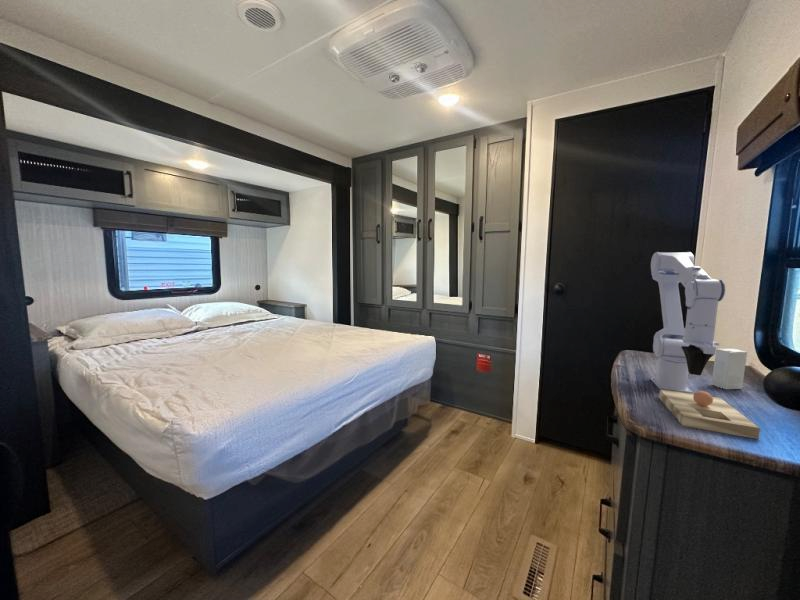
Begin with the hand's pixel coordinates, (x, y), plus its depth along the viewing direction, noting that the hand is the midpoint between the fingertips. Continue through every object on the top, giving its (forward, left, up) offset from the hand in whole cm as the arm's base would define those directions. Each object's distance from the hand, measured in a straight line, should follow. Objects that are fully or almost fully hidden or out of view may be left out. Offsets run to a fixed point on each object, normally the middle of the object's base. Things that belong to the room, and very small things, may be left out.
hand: (694, 374), depth 86 cm
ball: (+6, 0, -4) cm, 8 cm away
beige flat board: (+7, 0, -9) cm, 11 cm away
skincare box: (-22, +15, -9) cm, 28 cm away
